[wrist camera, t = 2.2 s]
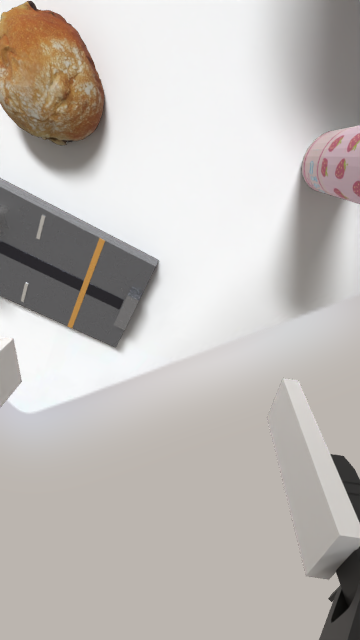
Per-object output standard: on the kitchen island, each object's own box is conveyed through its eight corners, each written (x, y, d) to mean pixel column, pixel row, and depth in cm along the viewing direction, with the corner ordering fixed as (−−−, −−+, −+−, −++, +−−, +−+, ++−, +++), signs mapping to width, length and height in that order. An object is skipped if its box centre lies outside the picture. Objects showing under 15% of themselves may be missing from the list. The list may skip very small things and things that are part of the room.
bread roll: (40, 133, 34) (18, 167, 30) (-21, 10, 26) (-66, 31, 22) (119, 119, 33) (109, 152, 29) (81, -16, 25) (57, 1, 20)
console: (-69, 251, 39) (-96, 261, 36) (-64, 145, 33) (-96, 143, 29) (120, 338, 44) (112, 353, 40) (158, 260, 37) (153, 270, 34)
